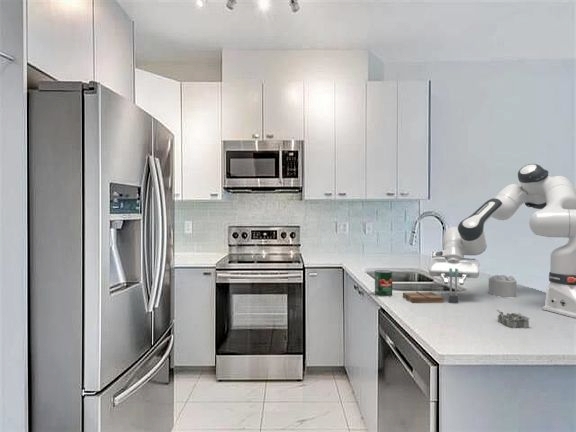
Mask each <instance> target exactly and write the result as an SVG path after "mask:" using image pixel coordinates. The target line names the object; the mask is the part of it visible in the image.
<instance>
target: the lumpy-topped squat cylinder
mask: <svg viewBox="0 0 576 432" xmlns="http://www.w3.org/2000/svg"><path fill="white" fill-rule="evenodd" d="M488 294H489V295H491V294H492V295H491V296H493V295H495V296H494V297H498V296H500V297H499V298H505V297H514V298H517V280H516V279H515V277H514V276H513V275H510V276H507V275H504V274H503V275H502V274H501V275H498V274H496V275H493V276H490V277H488Z"/></svg>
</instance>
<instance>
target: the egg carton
mask: <svg viewBox="0 0 576 432" xmlns="http://www.w3.org/2000/svg"><path fill="white" fill-rule="evenodd" d="M496 312H498V313H499V314H498V315H497V321H498V323H502V325H505V326H506V327H508V328H513V329H516V328H522V329H527V328H529V327H530V324H529V323H530V321H529V319H530V317H528V316H526V315H523V314H522V313H521V312H516V313H515V312H514V313H513V312H512V313H509V312H507V313H506V314H504V312H503V311H501V310H499V309H497V310H496Z"/></svg>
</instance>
